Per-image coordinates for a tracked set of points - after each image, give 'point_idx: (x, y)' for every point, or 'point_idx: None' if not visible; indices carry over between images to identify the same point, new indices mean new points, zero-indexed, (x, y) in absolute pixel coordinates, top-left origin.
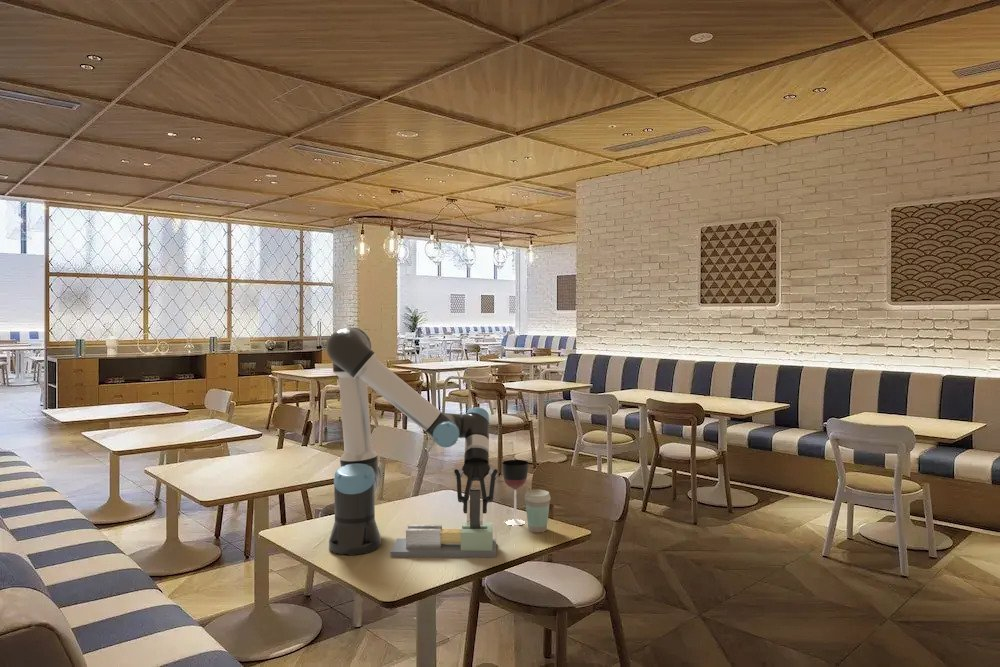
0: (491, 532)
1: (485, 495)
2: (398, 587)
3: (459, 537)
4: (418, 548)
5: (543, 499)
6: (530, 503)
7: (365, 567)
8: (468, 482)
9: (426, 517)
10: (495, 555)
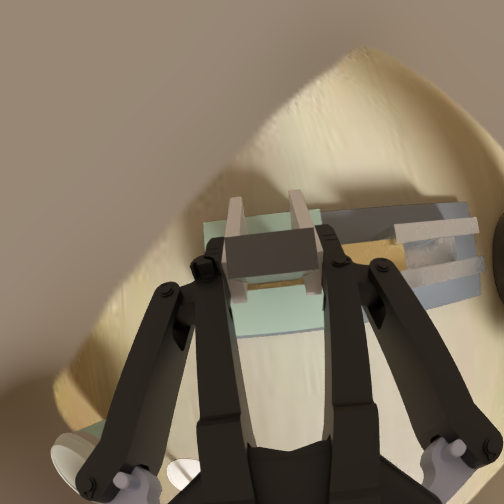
0: (205, 224)
1: (200, 292)
2: (378, 73)
3: None
4: None
5: (60, 438)
6: None
7: (470, 152)
8: (356, 377)
9: (421, 474)
10: None
